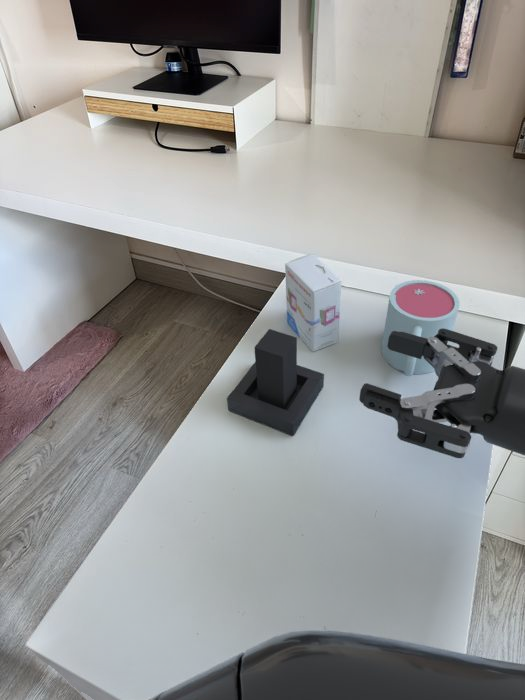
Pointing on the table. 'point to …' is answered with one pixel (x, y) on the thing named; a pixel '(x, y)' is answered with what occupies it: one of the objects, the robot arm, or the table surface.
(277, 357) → the block
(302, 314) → the ink box
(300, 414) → the base pad
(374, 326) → the table surface
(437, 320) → the mug
